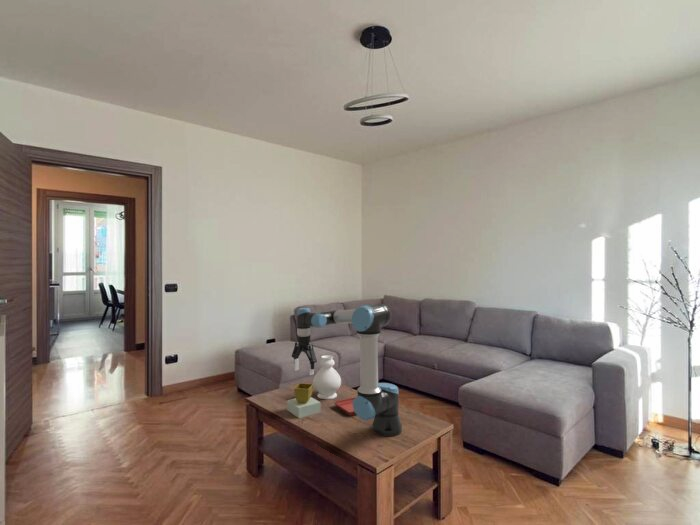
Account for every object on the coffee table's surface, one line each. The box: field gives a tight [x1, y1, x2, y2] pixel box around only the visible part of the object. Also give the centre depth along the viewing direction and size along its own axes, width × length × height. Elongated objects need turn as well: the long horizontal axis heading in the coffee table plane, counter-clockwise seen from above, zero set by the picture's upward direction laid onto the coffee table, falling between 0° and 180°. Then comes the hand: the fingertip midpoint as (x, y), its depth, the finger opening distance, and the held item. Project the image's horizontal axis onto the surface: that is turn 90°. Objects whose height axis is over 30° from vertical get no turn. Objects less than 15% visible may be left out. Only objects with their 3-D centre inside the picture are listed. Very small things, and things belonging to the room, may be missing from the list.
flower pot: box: [293, 382, 314, 403], centre depth 218 cm, size 9×9×9 cm
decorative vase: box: [312, 354, 342, 400], centre depth 243 cm, size 18×18×25 cm
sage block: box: [286, 396, 322, 419], centre depth 219 cm, size 14×14×6 cm
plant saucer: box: [333, 396, 357, 416], centre depth 222 cm, size 18×18×3 cm
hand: (304, 372), depth 218 cm, fingers open, 13 cm apart
